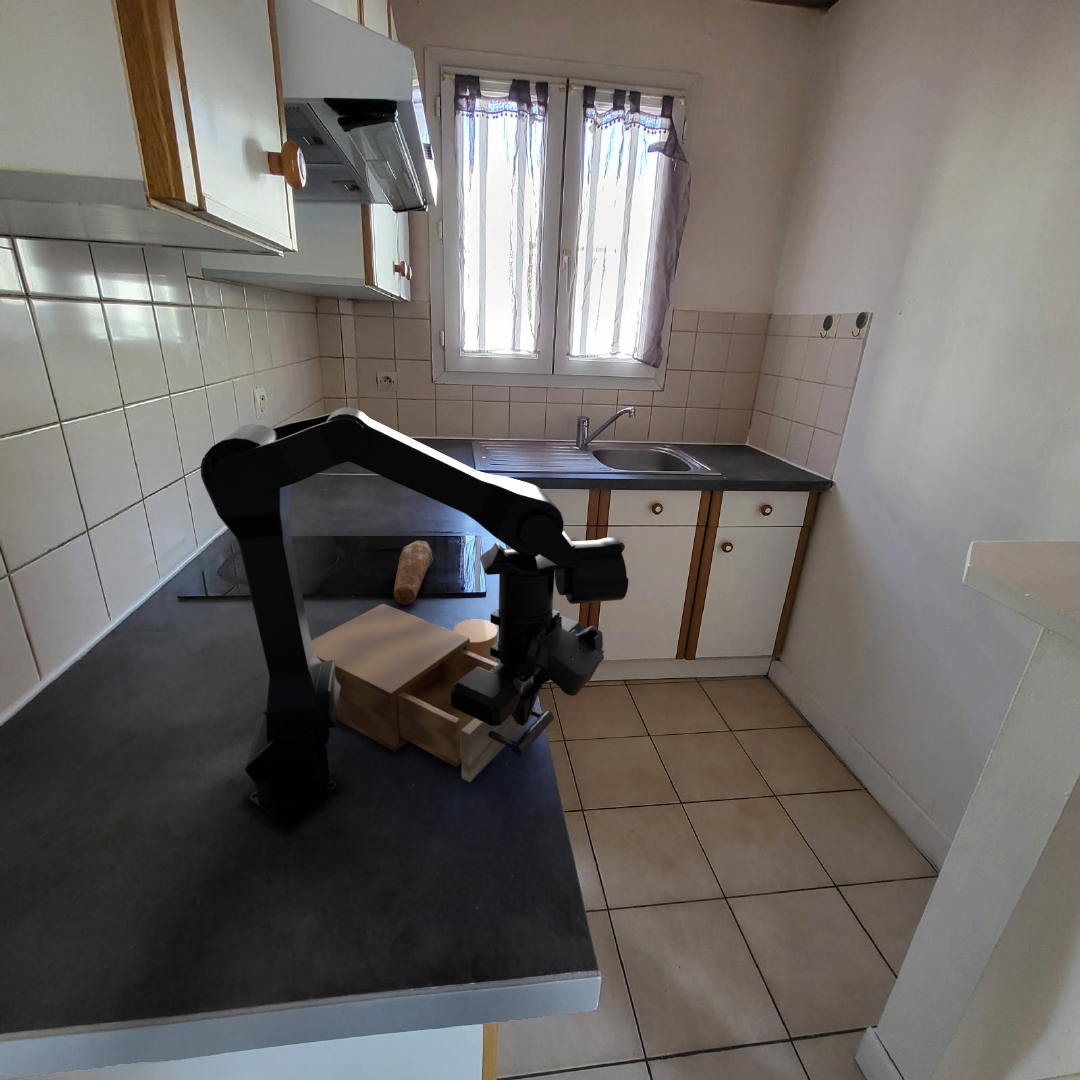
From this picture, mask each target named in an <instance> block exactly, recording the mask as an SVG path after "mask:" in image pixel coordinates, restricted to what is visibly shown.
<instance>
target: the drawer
mask: <svg viewBox="0 0 1080 1080" xmlns="http://www.w3.org/2000/svg"><path fill="white" fill-rule="evenodd" d="M498 664H499V663H498V662H497V661H496V662H493V661H491V660H488V659H486V658H484V657H481V656H479V655H476V654H474V653H471V652H469V651H467V650H464V649H461V650H459V651H458V652H456V653H455V654H454V655H452V656H451V657H449V658H448V659H447V660H445V661H444V662H442V663H441V664H440V665H438V666H437V667H435V668H434V669H433V670H431V671H430V672H428V673H427V674H425V675H424V676H423V677H421V678H420V679H418V680H417V681H416V682H414V683H413V684H411V685H410V686H409V687H407V688H406V689H404V690H403V691H402V692H400V693H399V694H397V695H396V704H397V719H398V734H399V736H400V737H402V738H404V739H405V740H407V741H408V742H409V743H411V744H413V745H415V746H416V747H418V748H420V749H422V750H424V751H426V752H428V753H429V754H431V755H433V756H435V757H437V758H439V759H441V760H442V761H444V762H445V763H448V764H450V765H451V766H453V767H455V768H457V767H458V766H459V765H461V779H462V780H464V781H466V782H468V783H471V782H472V781H473V780H474V779H475V778H476V777H477V776H478V775H479V774H480V773H481V772H482V771H483V770H484V769H485V768H486V767H487V766H488V764H489V763H490V762H491V761H492V760H493V759H494V758H495V757H496V756H497V755H498V754H499V753H500V752H501V751H502V750H503V749H505V747H507V748H510V749H511V751H512V753H513V754H514V755H515V756H517V757H520V756H522V755H523V754H524V753H525V752H526V750H528V748H529V747H530V746H531V745H532V744H533V743H534V742H535V740H537V738H538V737H540V735H541V734H542V733H543V732H544V731H545V730H546V729H547V728H548V726H549V725H550V724H551V723H552V722H553V721H554V719H555V716H554V714H553V713H552V711H550V710H545V711H541V710H538V709H536V708H535V705H534V706H533V709H532V711H531V714H530V716H529V719H528V722H527V723H526V724H525V725H524V726H521V725H519V724H517V723H516V722H515V720H514V718H513V717H512V715H510V716H509V717H508V718H507V719H506V720H505V721H504V722H503V723H502V724H501V725H498V726H490V725H488V724H486V723H484V722H482V721H480V720H478V719H476V718H474V717H472V716H470V715H468V714H465V713H463V712H461V711H459V710H457V709H455V708H453V707H451V696H450V687H451V686H452V685H453V684H455V683H456V682H457V681H458V680H460V679H461V678H462V677H464V676H465V675H466V674H467V673H469V672H470V671H471V670H473V669H475V668H476V667H480V668H483V669H485V670H488V671H490V670H492V669H493V668H494V667H495V666H497V665H498ZM534 717H535V718H537V719H536V720H535V721H534V722H533V723H532V724H531V725H530V726H529V728H527V729H526V730H525V732H524V733H522V734H521V736H520V737H519V738H518V739H517V740H516V741H514V740H513V739H514V738H515V737H516V736H517V735H518V734H519V733H520V731H522V729H523V728H524V727H525V726H527V724H528V723H529V722H530V721H531V720H532V719H533V718H534Z"/></svg>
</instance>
